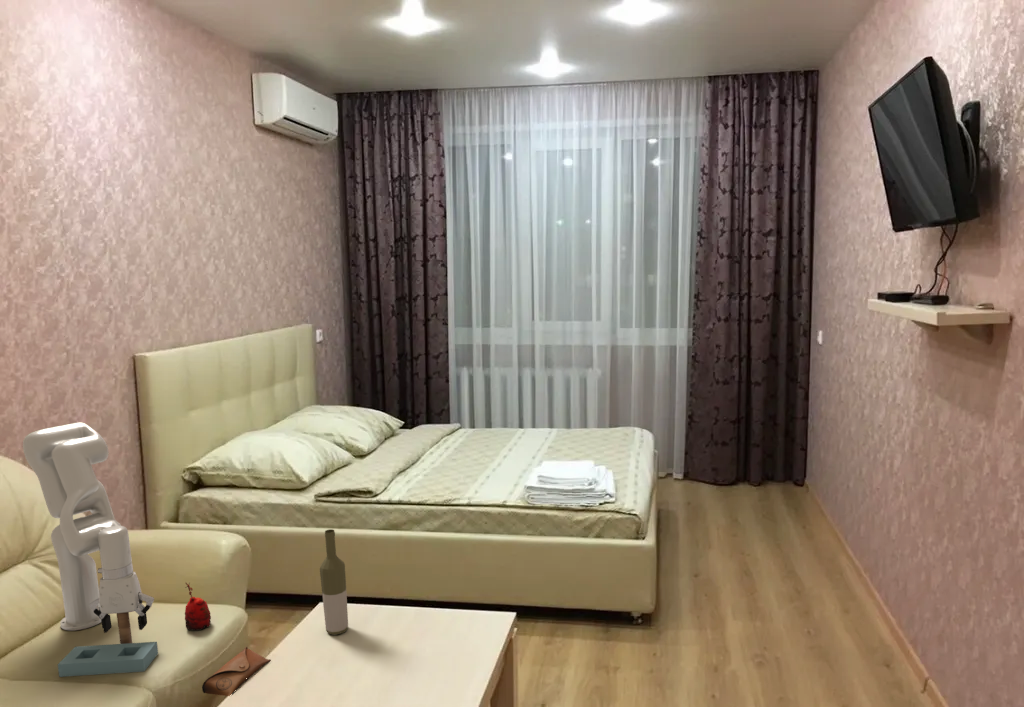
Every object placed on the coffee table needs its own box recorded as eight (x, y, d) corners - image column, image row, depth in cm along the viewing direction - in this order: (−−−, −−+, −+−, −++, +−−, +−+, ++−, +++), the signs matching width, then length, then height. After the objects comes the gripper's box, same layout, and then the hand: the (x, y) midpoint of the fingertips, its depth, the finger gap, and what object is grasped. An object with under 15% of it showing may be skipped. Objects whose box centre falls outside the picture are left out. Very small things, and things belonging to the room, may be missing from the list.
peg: (123, 643, 218) (118, 603, 216) (134, 642, 218) (129, 602, 216) (118, 648, 215) (113, 608, 213) (129, 648, 215) (124, 607, 213)
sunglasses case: (231, 697, 189) (216, 674, 189) (211, 707, 191) (197, 684, 191) (272, 658, 206) (259, 637, 206) (254, 668, 208) (241, 647, 209)
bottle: (351, 633, 218) (344, 532, 214) (326, 639, 216) (318, 537, 211) (347, 622, 225) (339, 524, 220) (323, 628, 222) (315, 529, 218)
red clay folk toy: (216, 624, 227) (211, 576, 225) (195, 635, 221) (190, 586, 219) (201, 618, 231) (196, 571, 229) (179, 628, 225) (174, 580, 223)
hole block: (76, 658, 211) (75, 646, 210) (158, 653, 212) (156, 641, 211) (59, 676, 202) (57, 664, 201) (144, 671, 203) (142, 659, 202)
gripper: (79, 579, 209) (87, 638, 211) (143, 574, 210) (151, 633, 212) (92, 567, 217) (100, 625, 219) (154, 563, 217) (162, 620, 220)
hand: (125, 628), depth 216 cm, fingers open, 9 cm apart
